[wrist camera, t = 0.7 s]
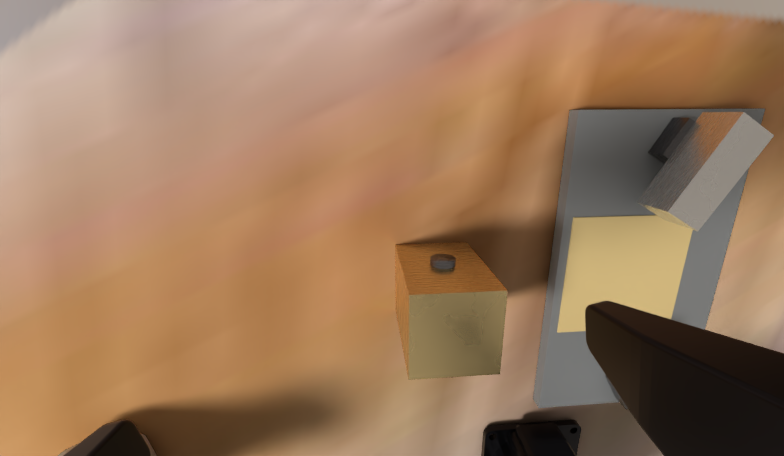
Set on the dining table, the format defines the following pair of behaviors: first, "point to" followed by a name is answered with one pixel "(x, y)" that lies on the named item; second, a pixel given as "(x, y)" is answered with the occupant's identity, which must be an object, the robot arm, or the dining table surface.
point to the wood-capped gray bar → (700, 167)
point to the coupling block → (448, 311)
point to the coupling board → (620, 246)
